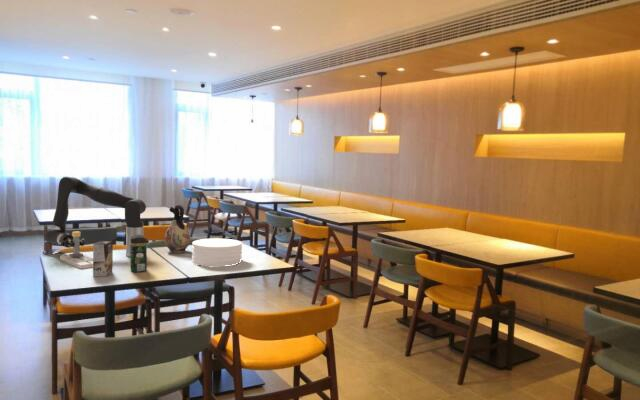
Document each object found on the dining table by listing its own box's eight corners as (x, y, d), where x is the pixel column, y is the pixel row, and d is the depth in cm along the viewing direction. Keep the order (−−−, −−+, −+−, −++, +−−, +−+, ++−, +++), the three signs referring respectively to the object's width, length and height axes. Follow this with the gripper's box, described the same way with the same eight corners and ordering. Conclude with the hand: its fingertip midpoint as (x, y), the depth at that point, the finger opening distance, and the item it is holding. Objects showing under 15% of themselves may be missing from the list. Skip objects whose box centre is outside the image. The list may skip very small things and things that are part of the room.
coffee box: (106, 276, 230) (106, 244, 229) (92, 276, 230) (92, 243, 229) (112, 272, 240) (113, 240, 238) (99, 271, 239) (99, 240, 238)
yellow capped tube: (69, 256, 260) (69, 231, 258) (80, 255, 264) (80, 230, 263) (72, 257, 257) (72, 232, 256) (83, 256, 261) (83, 231, 260)
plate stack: (248, 265, 269) (249, 245, 268) (200, 269, 254) (200, 248, 254) (231, 255, 293) (231, 237, 292) (186, 258, 278) (186, 239, 277)
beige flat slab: (60, 259, 262) (60, 255, 262) (80, 257, 270) (80, 253, 270) (80, 268, 243) (80, 264, 243) (102, 266, 251) (102, 261, 251)
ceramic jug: (159, 251, 295) (160, 203, 293) (180, 248, 307) (181, 202, 304) (174, 255, 284) (175, 206, 282) (196, 252, 296) (197, 205, 293)
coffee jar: (129, 268, 248) (129, 233, 246) (145, 267, 252) (145, 233, 250) (130, 273, 239) (131, 236, 238) (147, 272, 243) (147, 236, 241)
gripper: (52, 234, 264) (64, 239, 252) (79, 232, 274) (91, 236, 263) (52, 247, 264) (64, 252, 253) (79, 245, 275) (91, 249, 263)
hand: (78, 244), depth 258 cm, fingers open, 4 cm apart
